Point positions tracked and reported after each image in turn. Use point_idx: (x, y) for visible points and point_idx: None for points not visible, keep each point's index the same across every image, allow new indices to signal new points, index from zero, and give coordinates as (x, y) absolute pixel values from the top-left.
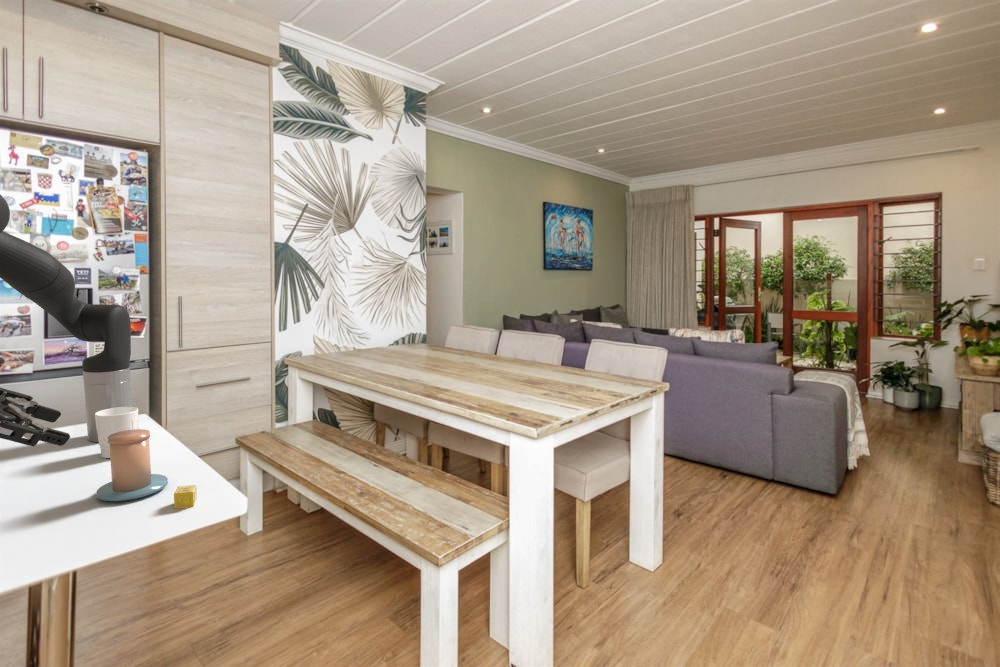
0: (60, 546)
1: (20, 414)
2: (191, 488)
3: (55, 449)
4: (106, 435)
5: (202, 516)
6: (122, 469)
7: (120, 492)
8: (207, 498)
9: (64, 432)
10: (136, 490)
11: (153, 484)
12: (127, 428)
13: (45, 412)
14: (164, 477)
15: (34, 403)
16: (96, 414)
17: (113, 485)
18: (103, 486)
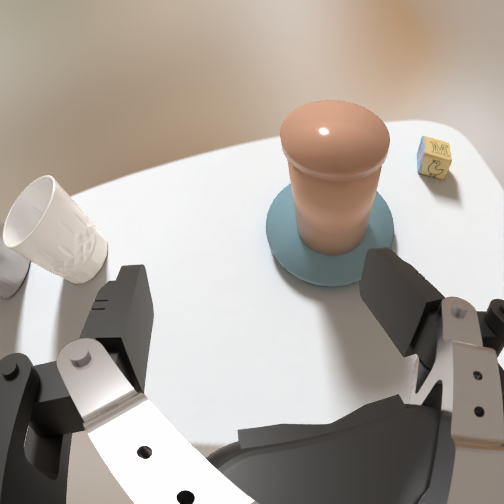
0: None
1: (498, 414)
2: (436, 141)
3: (10, 342)
4: (67, 250)
5: (474, 158)
6: (372, 204)
7: (362, 241)
8: (417, 144)
9: (384, 256)
10: None
11: None
12: (75, 209)
13: (137, 322)
14: None
15: (94, 360)
16: (12, 246)
17: (349, 246)
18: (302, 272)
